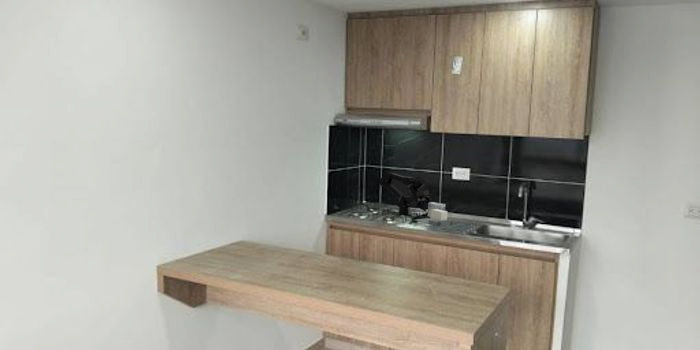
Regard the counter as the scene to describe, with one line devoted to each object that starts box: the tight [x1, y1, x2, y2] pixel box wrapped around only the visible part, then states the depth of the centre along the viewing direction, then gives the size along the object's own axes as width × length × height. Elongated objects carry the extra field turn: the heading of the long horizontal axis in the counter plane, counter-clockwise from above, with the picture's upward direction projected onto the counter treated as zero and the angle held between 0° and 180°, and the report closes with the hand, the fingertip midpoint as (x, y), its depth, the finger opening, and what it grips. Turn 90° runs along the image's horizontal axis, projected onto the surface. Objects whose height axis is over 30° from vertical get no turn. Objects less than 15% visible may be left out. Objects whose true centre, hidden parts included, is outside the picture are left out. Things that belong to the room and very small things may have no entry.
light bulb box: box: [427, 201, 446, 218], centre depth 387 cm, size 11×7×11 cm, turn 56°
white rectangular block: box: [430, 209, 448, 221], centre depth 363 cm, size 9×6×9 cm, turn 40°
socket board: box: [415, 217, 453, 227], centre depth 367 cm, size 22×14×4 cm, turn 40°
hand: (425, 211), depth 373 cm, fingers closed
